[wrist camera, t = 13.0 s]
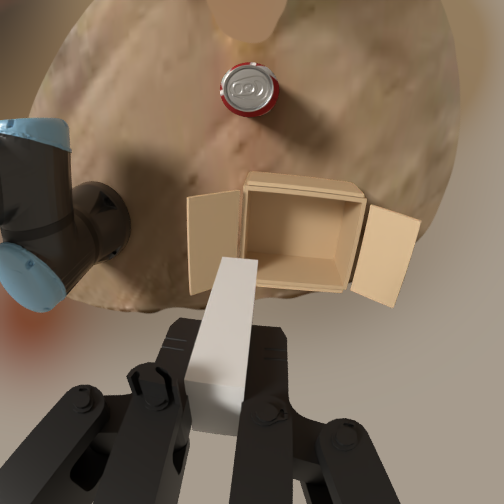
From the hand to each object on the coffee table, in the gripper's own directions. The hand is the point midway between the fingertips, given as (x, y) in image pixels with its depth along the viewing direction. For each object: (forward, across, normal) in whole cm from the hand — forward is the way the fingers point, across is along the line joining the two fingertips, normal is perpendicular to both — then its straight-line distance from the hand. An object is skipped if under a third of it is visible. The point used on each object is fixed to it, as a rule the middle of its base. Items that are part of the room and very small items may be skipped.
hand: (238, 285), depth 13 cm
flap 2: (+23, +17, -9) cm, 30 cm away
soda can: (+35, -2, +10) cm, 36 cm away
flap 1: (+22, -5, -9) cm, 25 cm away
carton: (+34, +6, -9) cm, 36 cm away
